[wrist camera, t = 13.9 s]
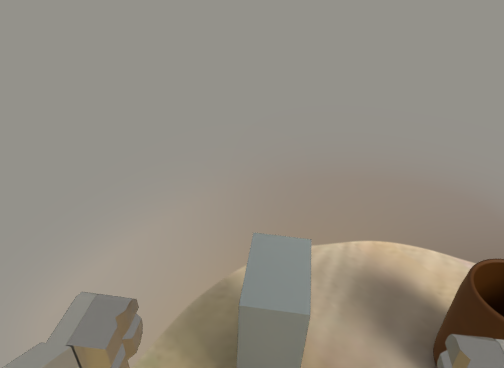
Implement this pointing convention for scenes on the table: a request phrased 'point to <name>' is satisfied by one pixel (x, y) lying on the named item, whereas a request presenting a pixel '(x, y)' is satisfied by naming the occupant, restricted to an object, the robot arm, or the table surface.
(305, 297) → the tall grey rectangular block
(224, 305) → the table surface
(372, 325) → the table surface
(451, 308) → the mug
